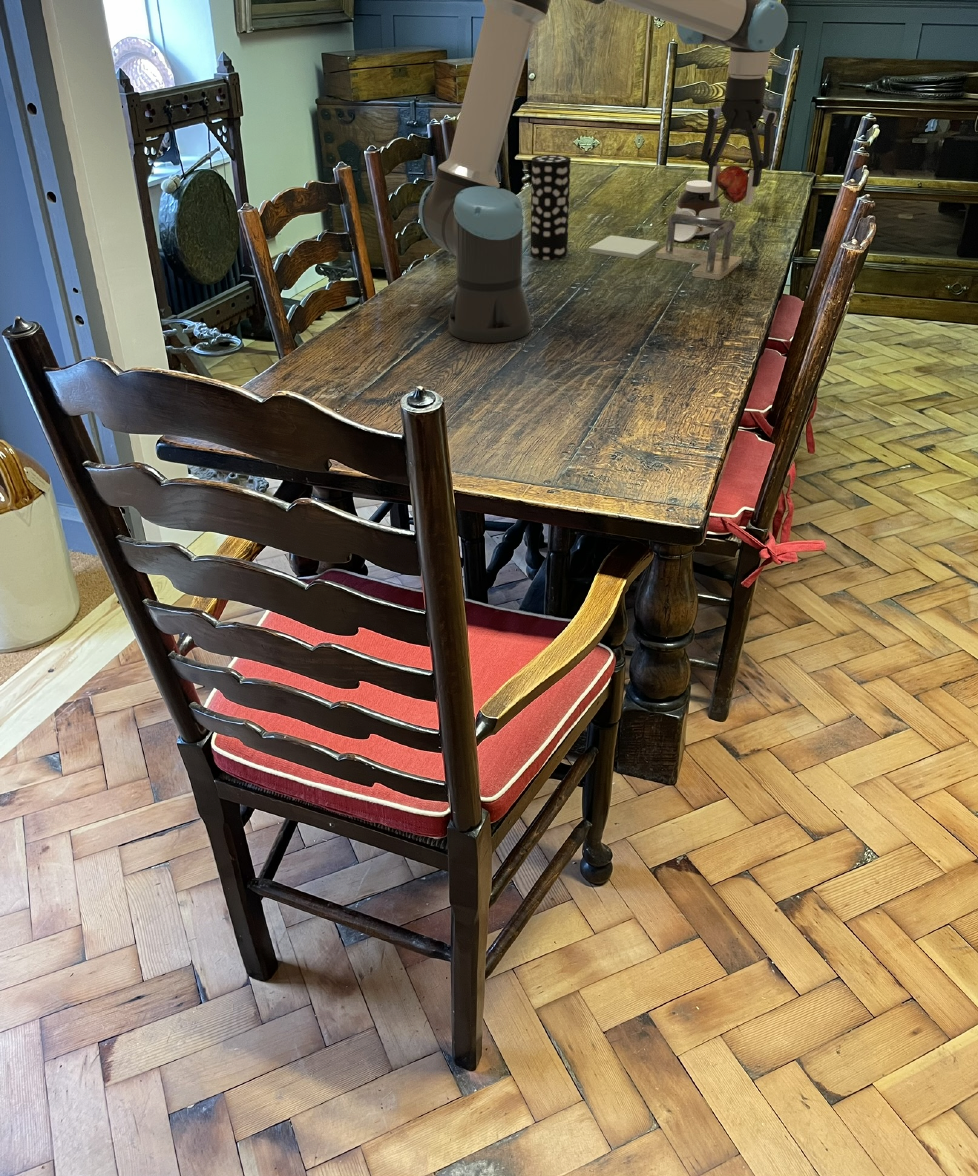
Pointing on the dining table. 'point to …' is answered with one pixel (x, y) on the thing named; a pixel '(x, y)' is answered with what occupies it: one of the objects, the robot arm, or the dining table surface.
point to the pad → (623, 247)
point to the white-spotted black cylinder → (550, 206)
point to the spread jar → (696, 210)
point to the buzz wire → (710, 260)
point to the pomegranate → (733, 183)
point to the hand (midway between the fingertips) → (731, 201)
